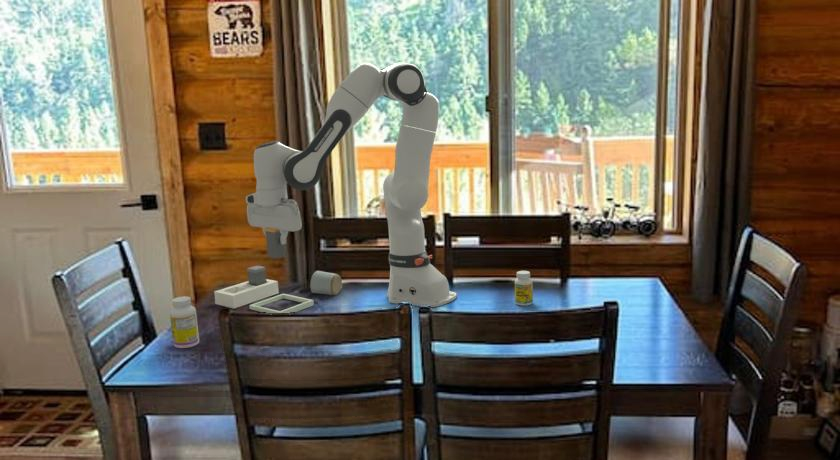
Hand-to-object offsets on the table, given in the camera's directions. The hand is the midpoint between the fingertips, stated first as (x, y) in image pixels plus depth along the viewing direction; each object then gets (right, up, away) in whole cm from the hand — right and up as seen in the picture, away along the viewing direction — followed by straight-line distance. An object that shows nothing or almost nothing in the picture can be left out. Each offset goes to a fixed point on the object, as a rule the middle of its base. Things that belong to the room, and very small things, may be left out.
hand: (276, 243), depth 216 cm
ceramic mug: (+13, -17, +19) cm, 29 cm away
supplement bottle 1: (-20, -27, -22) cm, 40 cm away
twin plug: (-9, -17, +17) cm, 26 cm away
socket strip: (-12, -19, +14) cm, 26 cm away
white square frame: (+1, -20, +4) cm, 21 cm away
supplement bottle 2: (+74, -18, +1) cm, 76 cm away
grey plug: (0, -4, +1) cm, 4 cm away
